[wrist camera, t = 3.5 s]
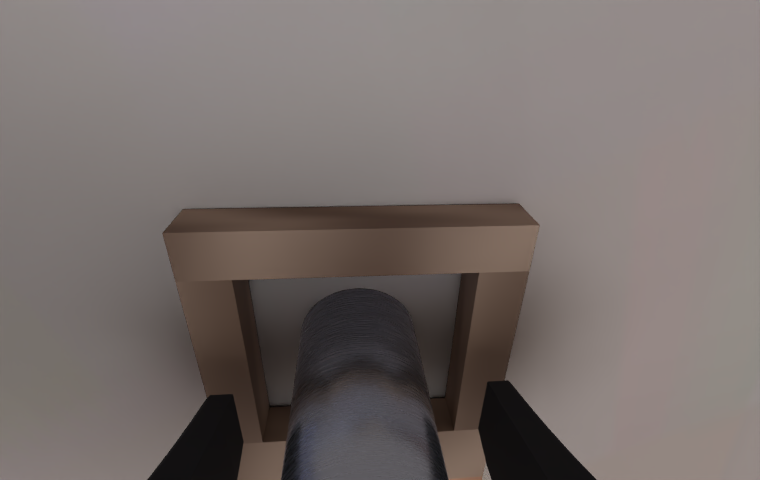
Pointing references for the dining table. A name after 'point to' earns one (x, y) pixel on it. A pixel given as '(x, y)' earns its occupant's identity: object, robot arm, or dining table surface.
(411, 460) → the metal peg
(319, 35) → the dining table surface
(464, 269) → the rail
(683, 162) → the dining table surface
